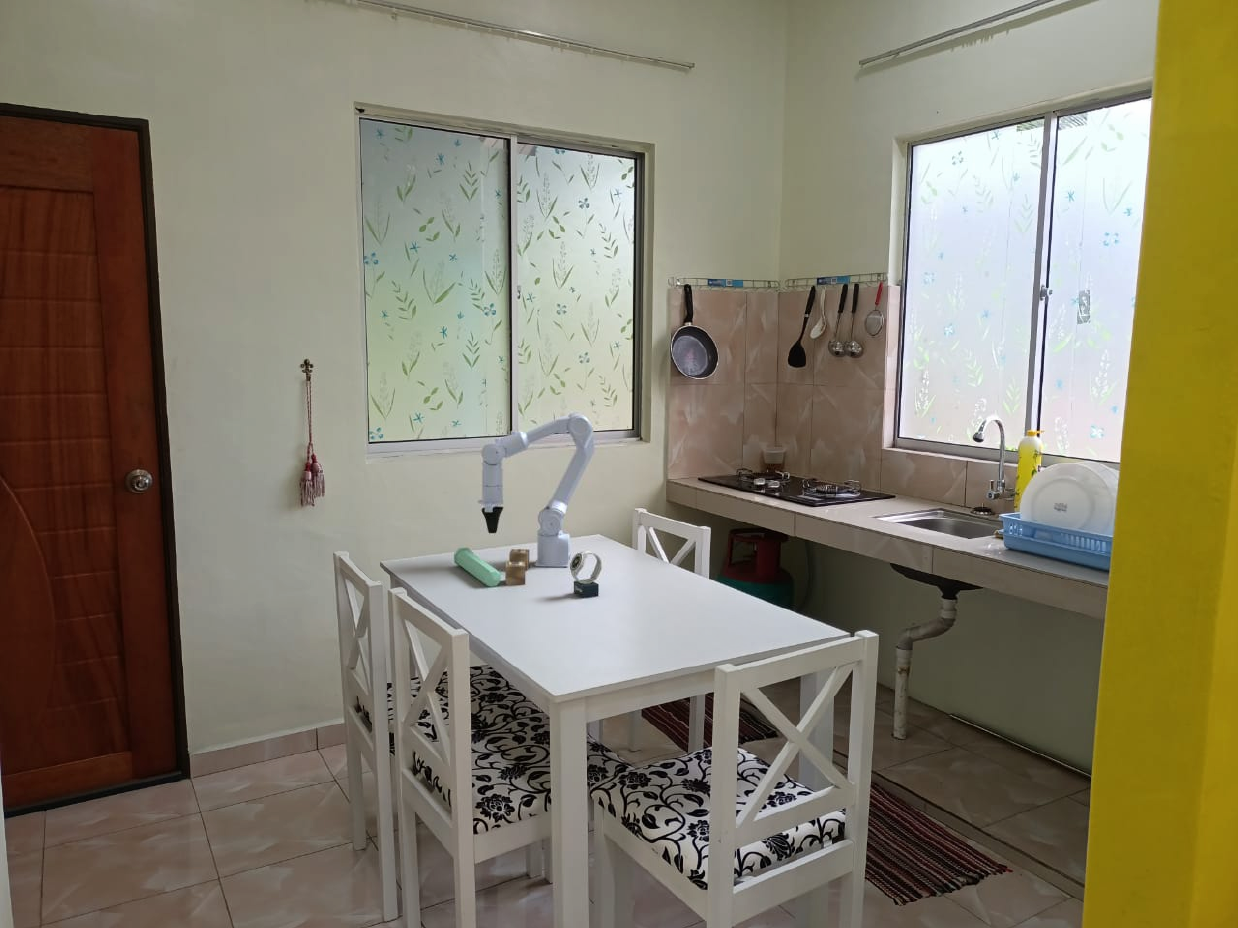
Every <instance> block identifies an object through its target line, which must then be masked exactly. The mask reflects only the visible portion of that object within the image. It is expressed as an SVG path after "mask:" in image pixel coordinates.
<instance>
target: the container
mask: <svg viewBox="0 0 1238 928" xmlns="http://www.w3.org/2000/svg"><path fill="white" fill-rule="evenodd" d="M453 563H454V564H456V565H457V567H459V566H461V567H460V568H463V569H464V570H465V571H467V572H468V573H470V574H471V575H472V576H473V577H475V578H476V579H477V580H479V581H480V583H483V584H484V585H485V586H487V587H489V588H490V587H492V588H493V587H497V586H498V585H499V583H500V582H501V580H502V579H501V575H502V574H501V572H499V570H497V569H496V568H495V567H493V566H492V565H490V564H489V563H488V562H487V561H485V560H483V559H482V558H480V557H479V556H478V555H476V554H475V553H474V552H473V551H472V550H471V549H470V548H468V547H459V548H458V549H457V550H456V551H455V553H453Z"/></svg>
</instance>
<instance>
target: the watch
mask: <svg viewBox="0 0 1238 928" xmlns="http://www.w3.org/2000/svg"><path fill="white" fill-rule="evenodd" d="M588 555H593V556H594V557H595V559H596V563H595V566H594V569H593V571H592V573H591V574H590V577H589V578H586V579H579V578H578V577H577V576H578V575H579V573H580V572H581V570H582V569H583V568H584V566H585V564H586V559H587V557H588ZM602 566H603V565H602V559H601V558H600V556H599V555H598V554H597V553H594V552H592V551H590V550H584V551H581V552H578V553H576V554H575V555H574V556H573V557H572V559H571V560H570V562H569V570H570V573H571V576H572V577H573V578H574V580H573V593H574V594H575V595H576V596H578V595H579V596H578V597H580V598H582V599H588V598H597V597H599V594H600V593H599V591H600V590H599V589H600V588H599V587H600V586H599V583H597V582H595V581H596V580H597V579H598V577H599V575H600V573H601V572H602V571H601V570H602ZM596 596H597V597H596Z"/></svg>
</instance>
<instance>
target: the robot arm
mask: <svg viewBox="0 0 1238 928" xmlns="http://www.w3.org/2000/svg"><path fill="white" fill-rule="evenodd" d="M555 434H560V435H568V434H569V435H570V436H571V437H572V439H573V443H574V445H575V448H576V450H575V452H574V454H572V455H573V456H572V457H571V460H570V462H569V463H568V465H567V468H566V469H565V472H564V474H563V476H562V478H561V479H560V482H559V483H558V485H557V488H556V490H555V491H554V494H553V495H552V497H551V499H549V501H548V503H547V504H546V506H545V507H544V508H543V509H541V510H540V511H539V513H538V515H537V522H538V524H539V525H540V528H539V529H538V530H537V537H536V538H537V539H536V540H537V543H536V544H537V546H536V548H537V549H536V550H537V552H536V554H537V555H536V556H537V557H536V561H535V563H534V567H549V568H551V567H552V568H553V567H558V568H568V567H569V566H570V563H571V556H572V555H571V538H570V537H571V536H570V535H571V534H570V533H564V532H563V529H562V528H563V525H564V522H563V520H564V517H565V515H566V511H567V508H568V506H569V503H570V501H571V498H572V497H573V495H574V493H575V491H576V489H577V487H578V485H579V483H580V481H581V480H582V477H583V475H584V473H585V471H586V469H587V467H588V466H589V463H590V462H591V459H592V457H593V455H594V454H595V451H596V446H595V438H594V428H593V425H592V423H591V422H590V420H589V419H588V417H586V416H585V415H583V414H582V413H579V412H572V413H570V414H569V415H563V416H560V417H558V418H554V419H552V420H550V421H548V422H546V423H543V424H541V425H539V426H537V427H535V428H533V429H530V430H528V431H526V432H523V431H522V430H518V431H516V430H511V431H510V434H508V435H505V436H503V437H501V438H499V437H497V438H494V442H493V441H490V442H486V444H484V446H483V447H482V449H481V452H480V453H481V457H482V469H481V494H482V495H481V497H482V498H481V499H479V500H477V504H481V505H483V506H484V507H482V508H481V512H482V515H483V518H484V520H485V523H486V527H487V528H486V529H487V532H488V534H496V533H497V532H498V528H499V521H500V518H501V514H502V512H503V509H504V507H503V506H500V505H503V504H504V499H503V497H504V495H503V491H504V490H503V489H504V488H503V487H504V485H503V480H504V478H503V475H504V473H503V472H504V469H503V467H502V464H503V463H502V462H503V459H504V458H505V459H508V458H511V457H512V456H515V455H517V454H519V453H522V452H524V451H527V450H528V448H529V445H530V444H532V443H533V442H536V441H539V440H541V439H543V438H547V437H549V436H552V435H555Z"/></svg>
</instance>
